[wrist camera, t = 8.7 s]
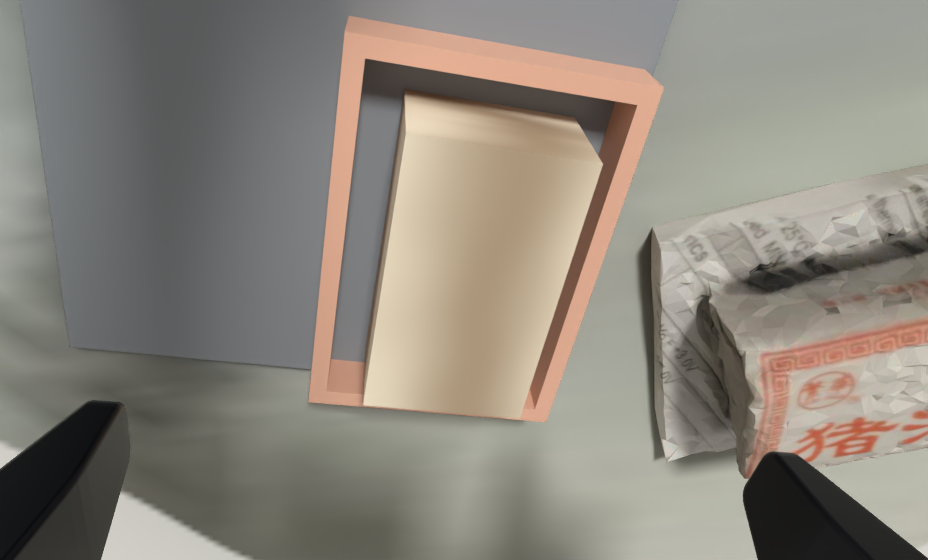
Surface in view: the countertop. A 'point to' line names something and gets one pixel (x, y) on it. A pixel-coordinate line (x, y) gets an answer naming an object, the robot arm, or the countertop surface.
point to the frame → (503, 64)
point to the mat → (255, 154)
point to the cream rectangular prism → (473, 253)
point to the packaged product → (796, 324)
